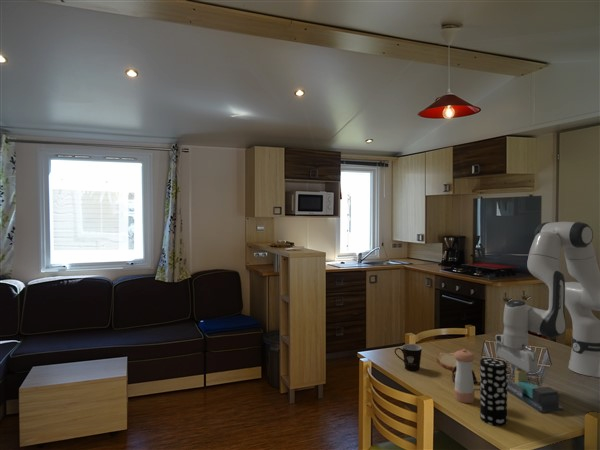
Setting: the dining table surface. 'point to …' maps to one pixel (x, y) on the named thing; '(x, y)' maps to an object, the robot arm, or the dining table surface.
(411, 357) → the coffee mug
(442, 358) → the bread slice
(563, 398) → the dining table surface
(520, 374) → the teal yellow slider block
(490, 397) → the white-spotted black cylinder
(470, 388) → the pepper shaker
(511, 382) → the guide
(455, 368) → the pottery mug
